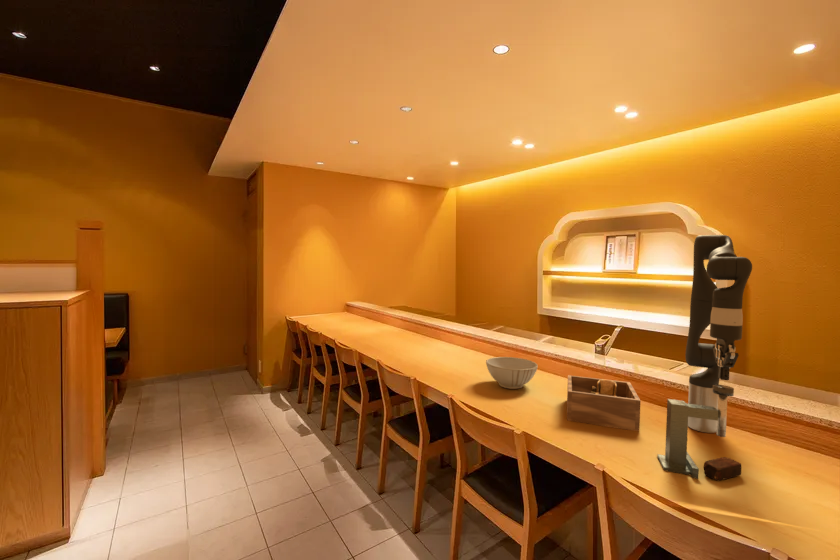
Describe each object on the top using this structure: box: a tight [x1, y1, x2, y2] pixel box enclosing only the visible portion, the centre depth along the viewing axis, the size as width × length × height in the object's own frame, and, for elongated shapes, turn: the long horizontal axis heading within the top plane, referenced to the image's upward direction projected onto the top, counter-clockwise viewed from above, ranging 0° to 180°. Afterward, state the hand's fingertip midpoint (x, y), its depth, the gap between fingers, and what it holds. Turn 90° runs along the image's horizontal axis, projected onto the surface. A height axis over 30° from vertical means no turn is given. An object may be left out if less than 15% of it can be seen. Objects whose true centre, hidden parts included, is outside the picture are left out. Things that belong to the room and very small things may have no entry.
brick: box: [703, 456, 742, 481], centre depth 114 cm, size 11×4×5 cm
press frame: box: [656, 398, 718, 480], centre depth 117 cm, size 12×14×20 cm
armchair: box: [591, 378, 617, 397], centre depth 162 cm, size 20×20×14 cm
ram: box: [713, 383, 735, 438], centre depth 114 cm, size 5×5×15 cm
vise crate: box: [566, 374, 641, 432], centre depth 161 cm, size 26×26×12 cm
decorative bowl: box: [485, 356, 538, 390], centre depth 199 cm, size 27×27×12 cm
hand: (723, 379), depth 114 cm, fingers closed
